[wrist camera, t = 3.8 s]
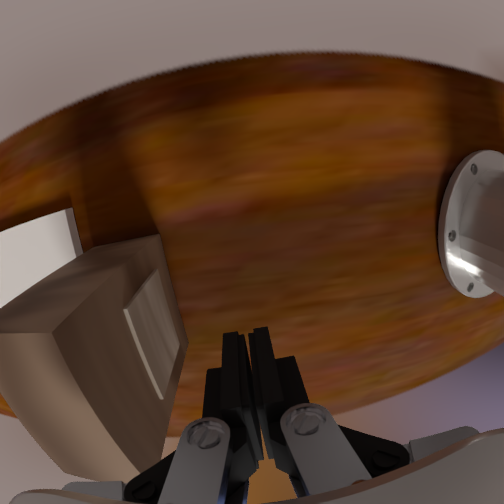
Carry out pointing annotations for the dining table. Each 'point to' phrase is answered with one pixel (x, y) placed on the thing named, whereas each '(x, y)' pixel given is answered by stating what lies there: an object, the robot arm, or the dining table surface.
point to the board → (36, 251)
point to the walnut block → (96, 359)
